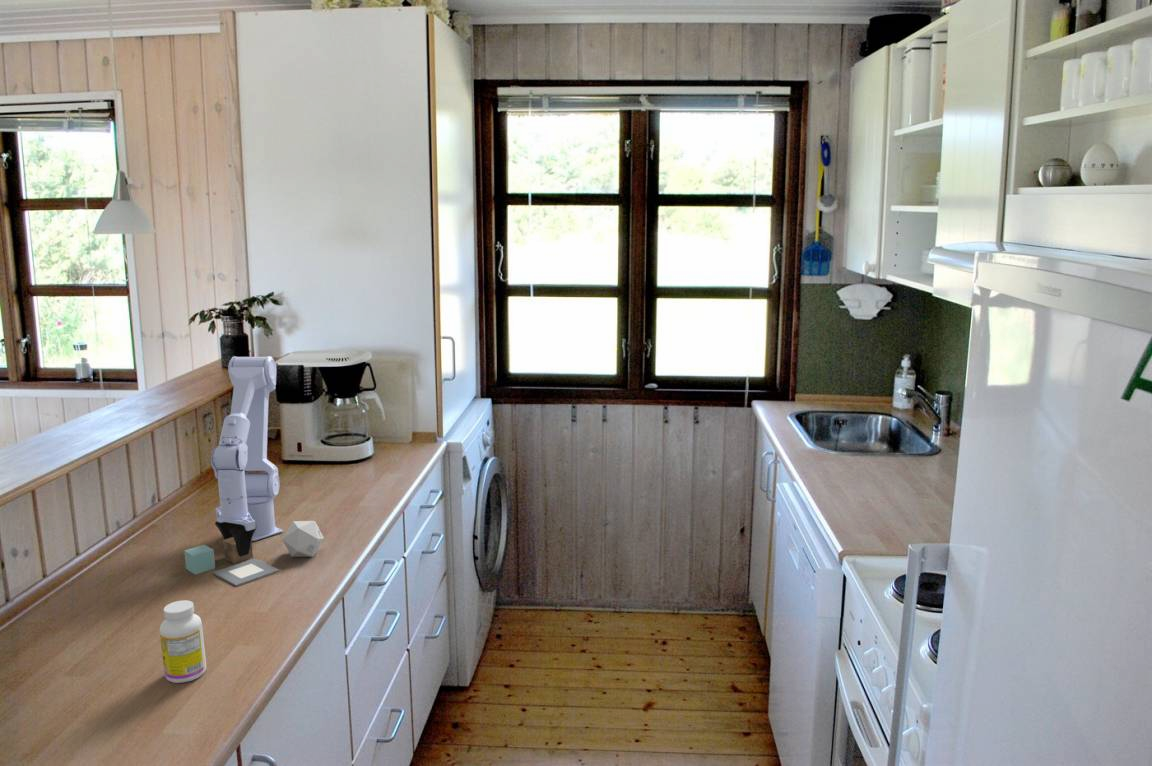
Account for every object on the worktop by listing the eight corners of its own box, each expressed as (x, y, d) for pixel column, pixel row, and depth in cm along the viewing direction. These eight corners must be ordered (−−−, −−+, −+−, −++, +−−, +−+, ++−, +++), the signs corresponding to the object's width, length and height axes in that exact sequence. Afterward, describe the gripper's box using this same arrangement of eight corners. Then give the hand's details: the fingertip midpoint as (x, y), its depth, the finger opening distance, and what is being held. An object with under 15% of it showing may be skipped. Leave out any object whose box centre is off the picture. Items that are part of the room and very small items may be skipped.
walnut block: (224, 558, 197) (222, 539, 196) (243, 552, 200) (241, 534, 199) (234, 563, 194) (232, 544, 193) (252, 557, 197) (251, 539, 196)
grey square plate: (213, 573, 188) (213, 571, 188) (255, 559, 196) (255, 557, 196) (236, 586, 182) (236, 584, 182) (279, 571, 189) (278, 569, 189)
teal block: (186, 569, 191) (184, 550, 190) (205, 563, 194) (203, 544, 193) (195, 574, 188) (193, 555, 187) (215, 568, 192) (213, 549, 191)
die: (301, 567, 193) (325, 530, 194) (270, 547, 194) (294, 511, 195) (312, 565, 201) (335, 530, 202) (282, 546, 202) (304, 511, 203)
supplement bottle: (173, 664, 151) (166, 598, 149) (212, 663, 152) (205, 596, 149) (158, 685, 145) (150, 616, 142) (199, 683, 145) (191, 614, 143)
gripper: (200, 493, 195) (206, 549, 198) (232, 508, 186) (237, 566, 189) (230, 485, 201) (235, 540, 204) (262, 499, 191) (266, 556, 194)
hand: (238, 552), depth 197 cm, fingers closed on walnut block, 4 cm apart
